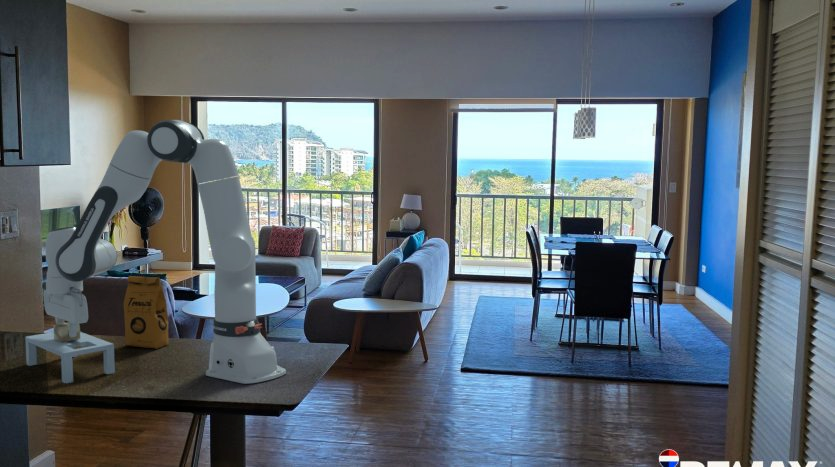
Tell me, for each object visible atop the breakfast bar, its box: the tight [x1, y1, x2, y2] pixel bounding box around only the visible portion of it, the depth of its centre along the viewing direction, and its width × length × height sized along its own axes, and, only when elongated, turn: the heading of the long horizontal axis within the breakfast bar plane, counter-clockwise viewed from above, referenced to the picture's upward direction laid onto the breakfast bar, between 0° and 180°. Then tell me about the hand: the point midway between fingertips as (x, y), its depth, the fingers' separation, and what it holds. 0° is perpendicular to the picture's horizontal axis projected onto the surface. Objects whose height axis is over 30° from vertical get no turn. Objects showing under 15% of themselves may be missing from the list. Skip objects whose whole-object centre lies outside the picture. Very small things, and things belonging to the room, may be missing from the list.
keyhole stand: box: [25, 331, 116, 384], centre depth 194 cm, size 26×13×8 cm, turn 49°
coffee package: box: [123, 275, 169, 350], centre depth 218 cm, size 10×12×22 cm
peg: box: [53, 322, 81, 349], centre depth 194 cm, size 5×5×8 cm
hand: (67, 334), depth 194 cm, fingers closed on peg, 5 cm apart
